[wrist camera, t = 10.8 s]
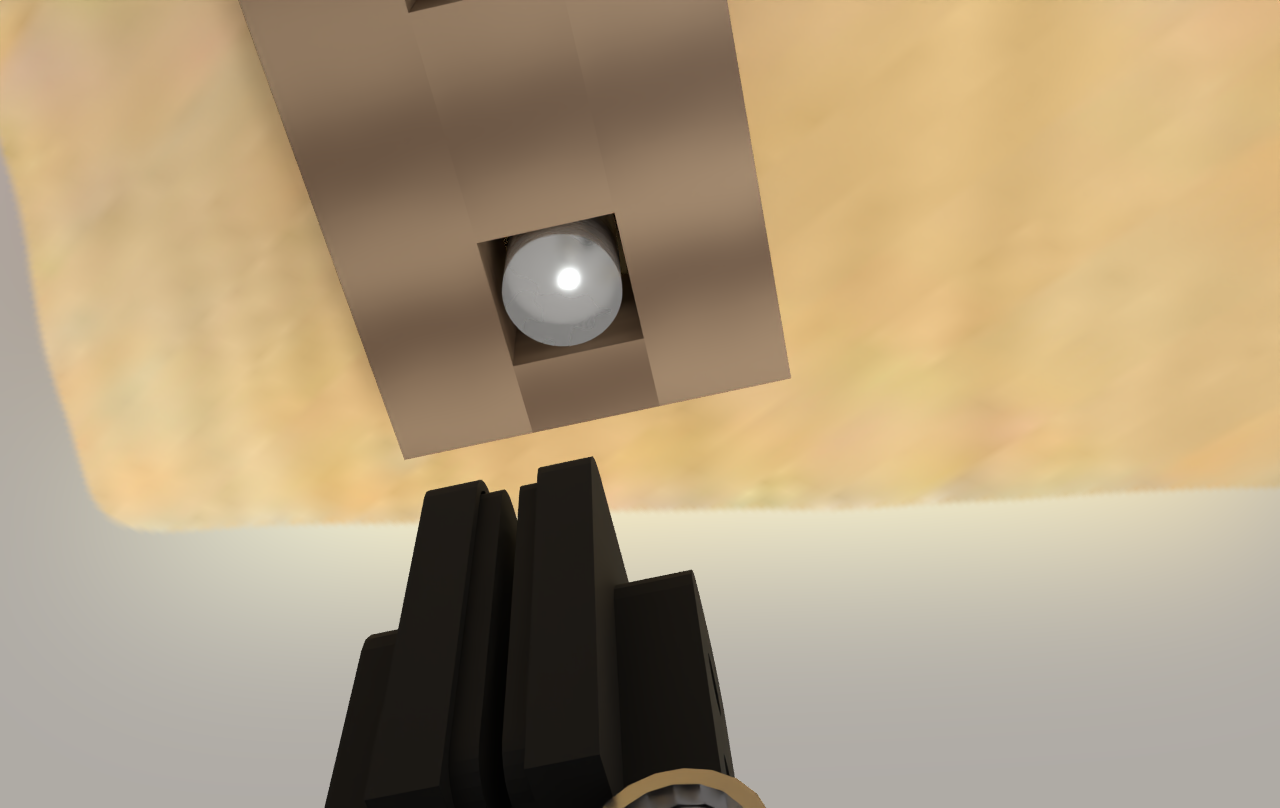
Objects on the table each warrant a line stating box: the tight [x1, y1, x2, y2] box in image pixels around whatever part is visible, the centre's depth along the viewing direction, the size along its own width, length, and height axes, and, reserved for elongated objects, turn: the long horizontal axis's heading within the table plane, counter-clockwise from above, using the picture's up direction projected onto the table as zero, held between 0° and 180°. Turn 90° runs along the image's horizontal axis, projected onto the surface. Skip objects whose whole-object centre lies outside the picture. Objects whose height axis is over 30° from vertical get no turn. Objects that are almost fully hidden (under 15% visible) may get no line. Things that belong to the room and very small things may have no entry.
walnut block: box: [238, 0, 791, 460], centre depth 39 cm, size 22×14×6 cm, turn 12°
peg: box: [502, 214, 622, 346], centre depth 42 cm, size 4×4×6 cm
